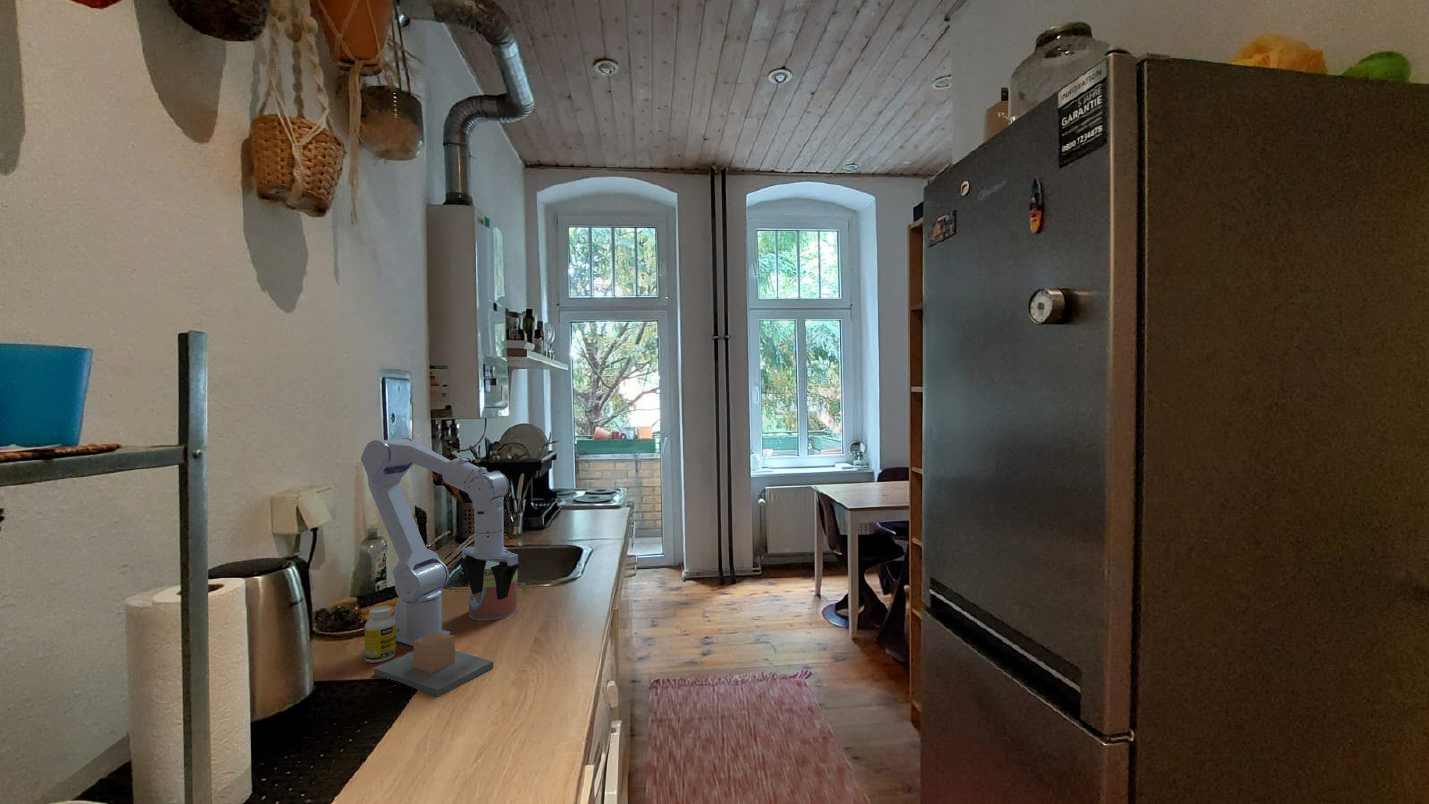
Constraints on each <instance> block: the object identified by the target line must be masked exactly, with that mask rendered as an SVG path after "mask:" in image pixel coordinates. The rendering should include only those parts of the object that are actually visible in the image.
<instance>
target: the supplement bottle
mask: <svg viewBox="0 0 1429 804" xmlns="http://www.w3.org/2000/svg"><path fill="white" fill-rule="evenodd" d="M392 615H393V607H392V605H386V604H385V605H379V606H375V607H371V608H370V609H369V611H368V618H369V619H368V620H367V621H366V623H365V624H364V661H365V662H367V663H371V664H372V663H373V664H375V663H382V662H386V661H388V660H391V659H392V658H393V657H395V656H396V654H397V641H396V619H395V618H394V616H392Z"/></svg>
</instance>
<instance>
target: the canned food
mask: <svg viewBox="0 0 1429 804" xmlns="http://www.w3.org/2000/svg"><path fill="white" fill-rule="evenodd" d="M496 565H499V563H498V562H492V561H487V562H486V566H485V570H484V579H483V590H482V592H479V593H476V594H472V591H471V588H470V584H469V583H468V618H470V619H472V620H475V621H494V620H499V619H504V618H507V617H510V616H512V615H514V614H515V613H517V612H518V610H519V603H518V601H519V599H518V598H519V597H518V596H519V594H518V591H519V590H518V585H519V584H518V583H519V582H518V569H517V570H516V572H515V574H514V576H513V579H512V581H511V585H510V588H509V593H508V597H506V598H504V599H501V600H499V599H498V598H497V593H496V582H495V578H494V575H493V572H492V570H491V567H493V566H496ZM516 611H517V612H516ZM513 613H514V614H513Z"/></svg>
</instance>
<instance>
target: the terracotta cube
mask: <svg viewBox="0 0 1429 804" xmlns="http://www.w3.org/2000/svg"><path fill="white" fill-rule="evenodd" d="M455 639H456V638H455V635H453V634H450V635H449V634H445V633H442V632H438V631H437V632H435V633H432V634H430V635H427V636H425V637H422V638H420V639H417V640H415V641H414V646H413V652H414V668H416V669H420V670H423V671H426V672H429V673H433V672H435V671H437V670H439V669H441V668H444V667H446V666H448V665H450V664H452V663H454V662H455V651H456V644H455V643H456V641H455Z"/></svg>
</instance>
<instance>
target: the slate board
mask: <svg viewBox="0 0 1429 804" xmlns="http://www.w3.org/2000/svg"><path fill="white" fill-rule="evenodd" d="M492 669H494V661H493V660H490V659H486V658H484V657H483V658H482V657H479V656H476V655H472V654H469V653H464V652H462V651H458V650H455V662H454V663H452V664H450V665H448V666H446V667H444V668H441V669H439V670H437V671H435V672H433V673H429V672H426V671H423V670H420V669H416V668H414V651H412V652H409V653H407V654H404V655H402V656H400V657H397V658H395V659H393V660H390V661H387V662H385V663H383V664H380V665H378V666H376V667H374V668H373V675H374V676H378V677H380V678H384V679H385V678H388V679H391V680H394V681H397V682H400V683H403V684H406V685H408V686H411V687H413V688H412V689H414V688H415V689H414V690H417V691H420V692H423V693H426V694H428V695H431V696H433V697H440V696H441V695H444V694H445V693H447V692H449V691H451V690H454V689H455V688H457V687H460V686H462V685H463V684H465V683H467V682H468V681H471V680H472V679H474V678H476V677H479V676H481V675H482V674H484V673H487V672H488V671H490V670H492ZM388 679H387V680H388ZM391 680H390V681H391ZM394 681H393V682H394ZM397 682H396V683H397ZM400 683H399V684H400ZM408 686H407V687H408ZM411 687H410V688H411Z"/></svg>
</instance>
